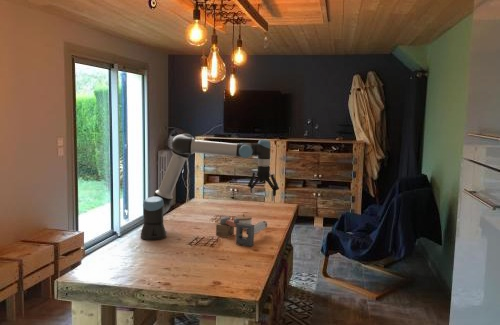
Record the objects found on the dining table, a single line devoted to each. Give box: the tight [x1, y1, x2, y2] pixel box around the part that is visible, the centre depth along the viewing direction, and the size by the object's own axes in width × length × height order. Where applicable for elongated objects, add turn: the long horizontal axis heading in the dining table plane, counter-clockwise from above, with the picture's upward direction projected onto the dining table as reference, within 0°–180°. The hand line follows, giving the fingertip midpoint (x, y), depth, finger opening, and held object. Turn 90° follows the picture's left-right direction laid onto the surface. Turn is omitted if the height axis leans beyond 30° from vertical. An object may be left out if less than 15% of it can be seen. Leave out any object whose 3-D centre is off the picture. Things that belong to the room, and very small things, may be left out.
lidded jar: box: [234, 213, 253, 230], centre depth 292 cm, size 11×11×9 cm
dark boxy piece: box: [235, 223, 255, 248], centre depth 256 cm, size 4×10×12 cm, turn 62°
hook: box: [246, 220, 268, 235], centre depth 269 cm, size 20×4×6 cm, turn 152°
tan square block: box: [215, 222, 235, 238], centre depth 275 cm, size 8×8×7 cm
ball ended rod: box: [219, 216, 239, 228], centre depth 270 cm, size 16×6×5 cm, turn 39°
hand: (262, 199), depth 273 cm, fingers open, 13 cm apart
